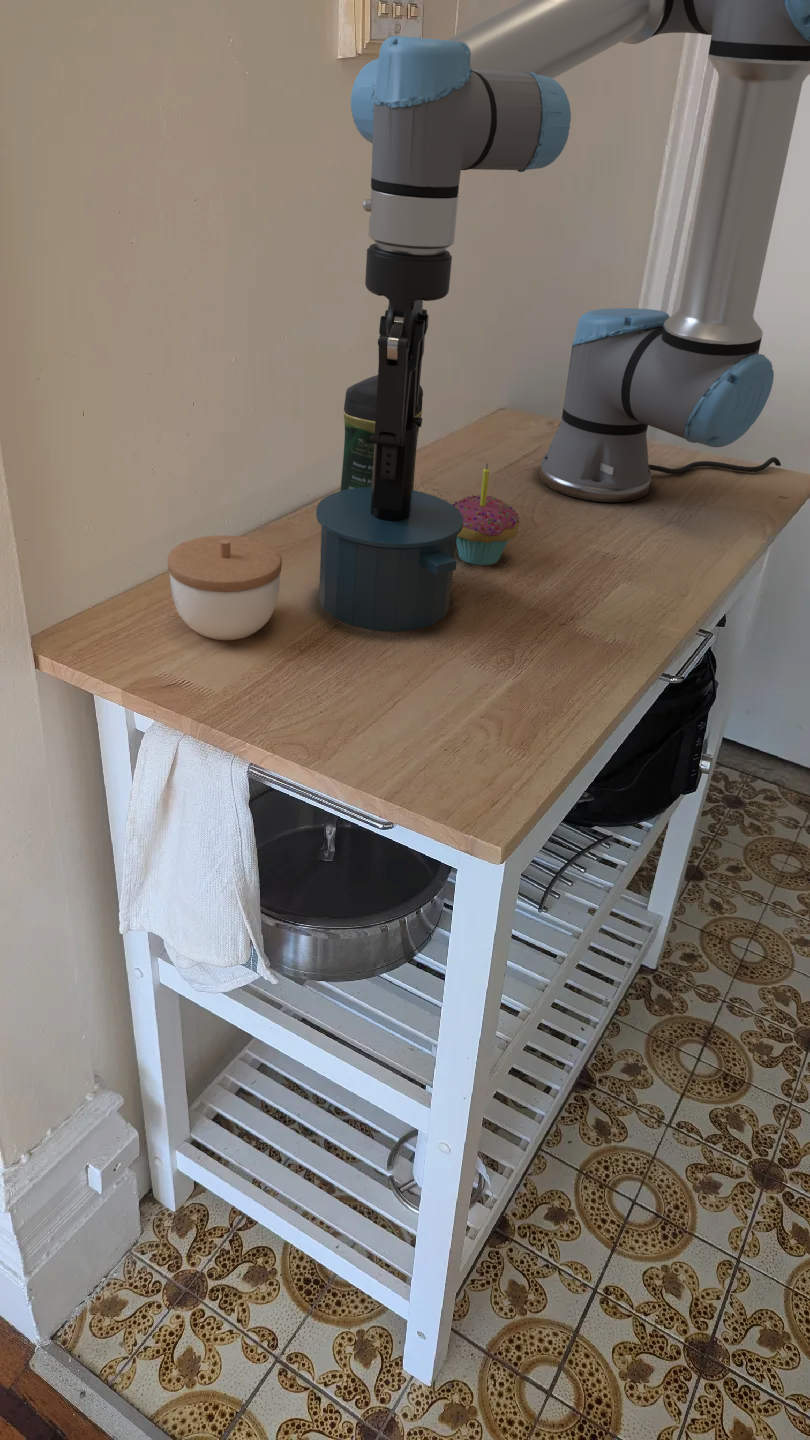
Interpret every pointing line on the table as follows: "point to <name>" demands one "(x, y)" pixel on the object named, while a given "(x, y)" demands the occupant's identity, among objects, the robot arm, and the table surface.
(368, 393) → the coffee jar
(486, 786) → the table surface
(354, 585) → the pot
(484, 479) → the cupcake
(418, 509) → the lid
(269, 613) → the trinket box
